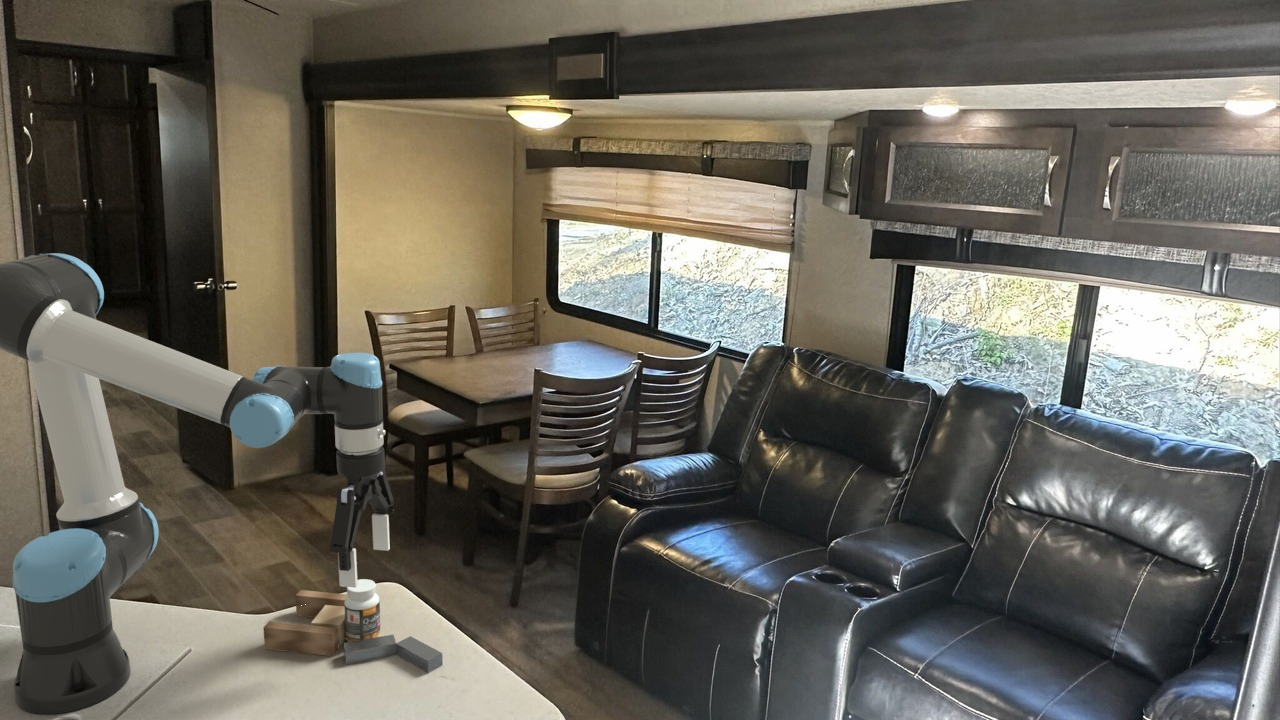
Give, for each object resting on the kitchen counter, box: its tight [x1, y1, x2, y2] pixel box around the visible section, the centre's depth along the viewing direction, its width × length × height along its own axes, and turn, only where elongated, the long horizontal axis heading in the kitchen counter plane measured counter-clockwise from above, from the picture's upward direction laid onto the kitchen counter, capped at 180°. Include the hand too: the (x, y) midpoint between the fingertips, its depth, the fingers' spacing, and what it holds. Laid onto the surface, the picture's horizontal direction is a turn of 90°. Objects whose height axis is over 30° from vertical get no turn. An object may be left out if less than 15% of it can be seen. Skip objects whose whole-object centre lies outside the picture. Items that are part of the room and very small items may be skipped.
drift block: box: [310, 605, 346, 646], centre depth 156 cm, size 5×6×4 cm
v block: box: [343, 634, 444, 674], centre depth 150 cm, size 17×7×2 cm, turn 83°
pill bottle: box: [344, 578, 381, 642], centre depth 155 cm, size 6×6×10 cm
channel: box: [262, 589, 348, 657], centre depth 156 cm, size 12×13×4 cm
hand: (365, 567), depth 153 cm, fingers open, 13 cm apart
